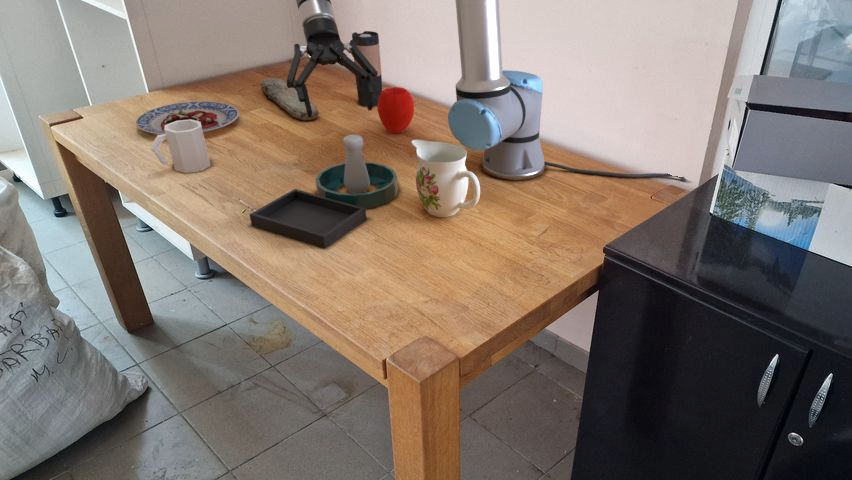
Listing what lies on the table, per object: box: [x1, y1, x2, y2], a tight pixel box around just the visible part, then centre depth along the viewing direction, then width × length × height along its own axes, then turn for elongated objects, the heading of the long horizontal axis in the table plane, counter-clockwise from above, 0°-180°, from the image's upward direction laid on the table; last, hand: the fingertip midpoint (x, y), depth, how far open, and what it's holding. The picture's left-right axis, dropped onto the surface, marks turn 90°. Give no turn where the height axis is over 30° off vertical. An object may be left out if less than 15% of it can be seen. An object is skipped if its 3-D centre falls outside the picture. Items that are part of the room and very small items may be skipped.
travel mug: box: [351, 30, 383, 107], centre depth 192 cm, size 8×8×20 cm
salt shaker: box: [342, 134, 371, 194], centre depth 143 cm, size 6×6×13 cm
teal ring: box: [315, 161, 399, 210], centre depth 146 cm, size 18×18×4 cm
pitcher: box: [411, 138, 481, 218], centre depth 137 cm, size 11×18×14 cm, turn 53°
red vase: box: [376, 86, 415, 134], centre depth 175 cm, size 10×10×12 cm
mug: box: [150, 120, 211, 174], centre depth 152 cm, size 12×9×10 cm
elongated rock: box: [260, 77, 319, 121], centre depth 193 cm, size 35×5×10 cm
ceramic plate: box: [135, 100, 240, 135], centre depth 177 cm, size 26×26×3 cm
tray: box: [249, 188, 368, 249], centre depth 134 cm, size 19×14×3 cm
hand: (340, 111), depth 146 cm, fingers open, 13 cm apart
